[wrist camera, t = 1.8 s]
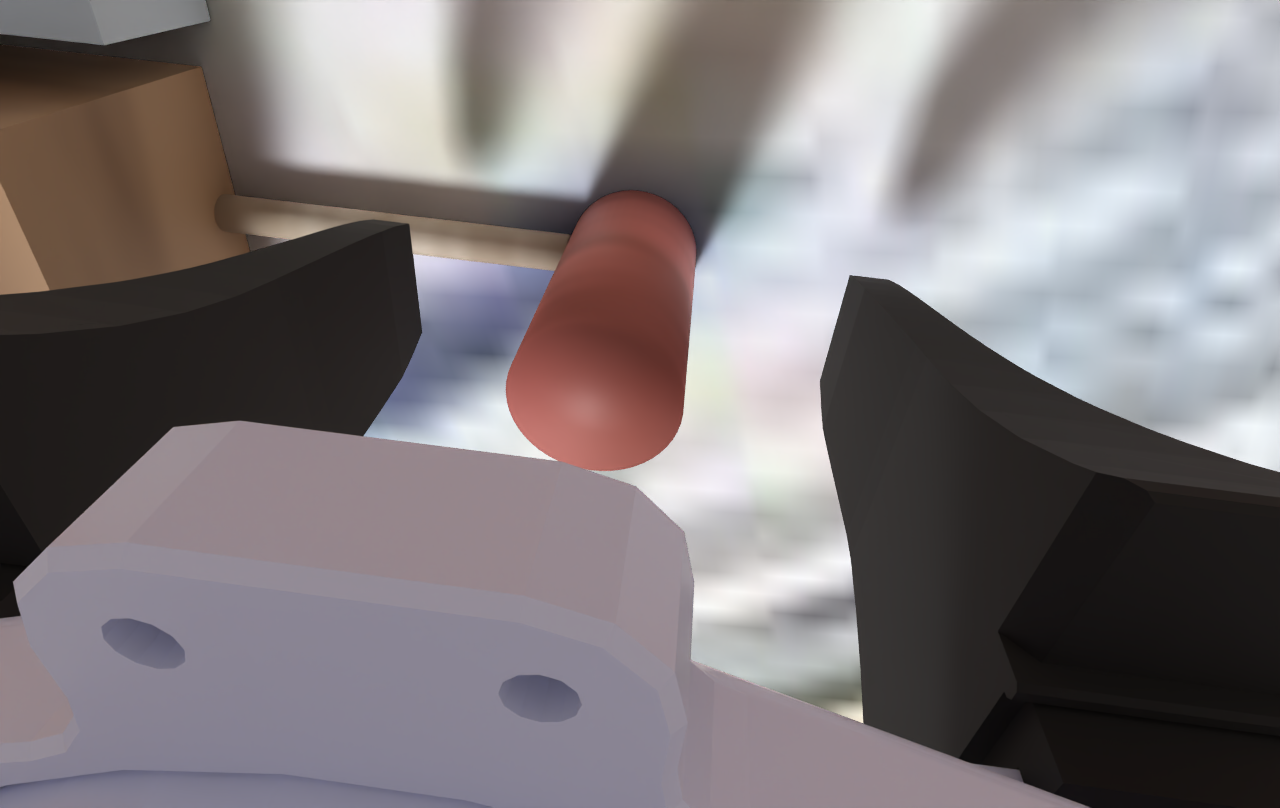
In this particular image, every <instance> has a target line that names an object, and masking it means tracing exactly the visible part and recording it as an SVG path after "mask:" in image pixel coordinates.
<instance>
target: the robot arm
mask: <svg viewBox="0 0 1280 808" xmlns="http://www.w3.org/2000/svg"><path fill="white" fill-rule="evenodd" d="M421 334H422V327H421V319H420V310H419V302H418V293H417V285H416V276H415V268H414V259H413V251H412V242H411V234H410V225H409V223H400V222H392V221H383V220H375V219H371V220H362V221H356V222H352V223H347V224H343V225H340V226H336V227H332V228H329V229H325V230H322V231H319V232H315V233H312V234H309V235H305V236H302V237H299V238H296V239H292V240H289V241H286V242H283V243H279V244H276V245H273V246H270V247H266V248H263V249H259V250H255V251H252V252H248V253H245V254H241V255H237V256H234V257H230V258H226V259H223V260H219V261H215V262H212V263H208V264H204V265H200V266H196V267H192V268H187V269H183V270H178V271H173V272H169V273H163V274H158V275H153V276H147V277H142V278H137V279H131V280H125V281H119V282H112V283H104V284H96V285H88V286H80V287H72V288H64V289H56V290H48V291H40V292H29V293H16V294H3V295H0V808H1280V472H1277V471H1273V470H1269V469H1266V468H1262V467H1258V466H1255V465H1251V464H1248V463H1245V462H1242V461H1239V460H1236V459H1233V458H1230V457H1227V456H1224V455H1221V454H1218V453H1215V452H1212V451H1209V450H1206V449H1203V448H1200V447H1197V446H1194V445H1191V444H1188V443H1185V442H1182V441H1179V440H1177V439H1174V438H1171V437H1169V436H1166V435H1163V434H1161V433H1158V432H1155V431H1153V430H1150V429H1147V428H1145V427H1143V426H1140V425H1138V424H1135V423H1133V422H1131V421H1128V420H1126V419H1124V418H1121V417H1119V416H1116V415H1114V414H1112V413H1109V412H1107V411H1105V410H1102V409H1100V408H1098V407H1096V406H1093V405H1091V404H1089V403H1087V402H1085V401H1083V400H1080V399H1078V398H1076V397H1074V396H1072V395H1070V394H1068V393H1067V392H1065V391H1063V390H1061V389H1059V388H1057V387H1055V386H1053V385H1051V384H1049V383H1047V382H1045V381H1043V380H1042V379H1040V378H1038V377H1036V376H1034V375H1032V374H1031V373H1029V372H1027V371H1025V370H1024V369H1022V368H1020V367H1018V366H1017V365H1015V364H1013V363H1012V362H1010V361H1009V360H1007V359H1006V358H1004V357H1002V356H1001V355H999V354H998V353H996V352H994V351H993V350H991V349H990V348H988V347H987V346H985V345H984V344H982V343H981V342H979V341H978V340H976V339H975V338H973V337H972V336H970V335H969V334H967V333H966V332H965V331H963V330H962V329H960V328H959V327H957V326H956V325H955V324H953V323H952V322H951V321H949V320H948V319H946V318H945V317H944V316H942V315H941V314H940V313H938V312H937V311H935V310H934V309H933V308H931V307H930V306H929V305H927V304H926V303H924V302H923V301H922V300H920V299H919V298H918V297H916V296H915V295H913V294H912V293H910V292H909V291H907V290H906V289H904V288H903V287H901V286H900V285H898V284H896V283H894V282H892V281H890V280H886V279H878V278H869V277H861V276H852V275H850V276H849V280H848V284H847V287H846V291H845V294H844V298H843V301H842V305H841V308H840V312H839V316H838V319H837V323H836V326H835V330H834V333H833V337H832V340H831V344H830V347H829V351H828V355H827V358H826V362H825V365H824V369H823V372H822V376H821V379H820V390H821V410H822V423H823V431H824V436H825V441H826V446H827V450H828V455H829V459H830V464H831V468H832V473H833V477H834V481H835V486H836V490H837V494H838V499H839V503H840V508H841V512H842V516H843V521H844V525H845V529H846V534H847V539H848V545H849V551H850V556H851V565H852V575H853V585H854V595H855V605H856V615H857V628H858V641H859V654H860V667H861V685H862V704H863V722H864V724H863V723H860V722H858V721H855V720H852V719H850V718H847V717H844V716H841V715H839V714H836V713H833V712H831V711H828V710H825V709H822V708H820V707H817V706H814V705H812V704H809V703H806V702H804V701H801V700H798V699H795V698H793V697H790V696H787V695H785V694H782V693H779V692H776V691H774V690H771V689H768V688H766V687H763V686H760V685H758V684H755V683H752V682H749V681H747V680H744V679H741V678H739V677H736V676H733V675H730V674H728V673H725V672H722V671H720V670H717V669H714V668H712V667H709V666H706V665H703V664H701V663H698V662H695V661H693V660H691V640H692V618H693V596H694V578H693V573H692V568H691V563H690V558H689V553H688V548H687V543H686V538H685V533H684V531H683V530H682V529H681V528H680V527H679V526H678V525H676V524H675V523H674V522H673V521H672V520H671V519H670V518H669V517H668V516H667V515H666V514H665V513H664V512H663V511H662V510H661V509H660V508H658V507H657V506H656V505H655V504H654V503H653V502H652V501H651V500H650V499H649V498H648V497H647V496H646V495H645V494H644V493H643V492H642V491H640V490H639V489H638V488H637V487H636V486H633V485H630V484H627V483H624V482H621V481H618V480H615V479H612V478H609V477H606V476H603V475H600V474H597V473H594V472H591V471H588V470H585V469H583V468H580V467H577V466H574V465H571V464H568V463H565V462H560V461H552V460H544V459H536V458H529V457H521V456H513V455H505V454H497V453H489V452H481V451H474V450H466V449H458V448H450V447H442V446H434V445H426V444H419V443H411V442H403V441H395V440H387V439H379V438H372V437H364V434H365V433H366V431H367V430H368V428H369V427H370V425H371V424H372V422H373V421H374V419H375V418H376V417H377V415H378V414H379V412H380V411H381V409H382V408H383V406H384V405H385V403H386V401H387V400H388V398H389V397H390V395H391V394H392V392H393V391H394V389H395V388H396V386H397V385H398V383H399V381H400V380H401V378H402V377H403V375H404V373H405V370H406V368H407V366H408V364H409V362H410V360H411V358H412V355H413V353H414V350H415V348H416V346H417V343H418V341H419V339H420V336H421Z"/></svg>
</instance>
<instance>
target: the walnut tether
mask: <svg viewBox="0 0 1280 808" xmlns="http://www.w3.org/2000/svg"><path fill="white" fill-rule="evenodd" d="M371 219H375V220H383V221H392V222H400V223H409V225H410V234H411V242H412V251H413V254H417V255H426V256H434V257H442V258H451V259H459V260H468V261H476V262H484V263H493V264H501V265H510V266H518V267H526V268H535V269H543V270H552V271H555V272H554V274H553V276H552V278H551V280H550V282H549V285H548V287H547V289H546V291H545V293H544V295H543V298H542V300H541V302H540V304H539V306H538V308H537V311H536V313H535V315H534V317H533V319H532V321H531V323H530V326H529V328H528V330H527V332H526V334H525V336H524V339H523V341H522V343H521V345H520V347H519V349H518V351H517V354H516V356H515V358H514V360H513V362H512V364H511V367H510V370H509V372H508V376H507V381H506V397H507V403H508V407H509V411H510V413H511V415H512V418H513V420H514V422H515V423H516V425H517V427H518V428H519V430H520V431H521V432H522V433H523V435H524V436H525V437H526V438H527V439H528V440H529V441H530V442H531V443H532V444H533V445H534V446H536V447H537V448H538V449H539V450H541V451H542V452H544V453H545V454H547V455H548V456H550V457H552V458H554V459H556V460H558V461H560V462H565V463H568V464H571V465H574V466H577V467H580V468H583V469H588V470H596V471H613V470H621V469H626V468H630V467H634V466H637V465H639V464H642V463H644V462H646V461H648V460H650V459H652V458H653V457H655V456H656V455H658V454H659V453H660V452H661V451H663V450H664V449H665V448H666V447H667V446H668V445H669V443H670V442H671V441H672V440H673V438H674V437H675V435H676V433H677V431H678V429H679V427H680V424H681V421H682V416H683V408H684V396H685V384H686V372H687V360H688V348H689V336H690V324H691V312H692V300H693V288H694V276H695V264H696V243H695V238H694V235H693V232H692V229H691V227H690V225H689V223H688V221H687V220H686V219H685V217H684V216H683V214H682V213H681V212H680V211H679V210H678V209H677V208H676V207H675V206H673V205H672V204H671V203H670V202H668V201H666V200H665V199H663V198H661V197H659V196H657V195H654V194H651V193H648V192H643V191H634V190H628V191H619V192H615V193H611V194H609V195H606V196H604V197H602V198H600V199H598V200H597V201H595V202H594V203H593V204H591V205H590V206H589V207H588V208H587V209H586V210H585V212H584V213H583V214H582V215H581V217H580V219H579V220H578V222H577V224H576V226H575V229H574V231H573V233H572V235H570V234H562V233H554V232H545V231H536V230H528V229H519V228H511V227H502V226H494V225H485V224H477V223H468V222H460V221H451V220H443V219H434V218H426V217H417V216H409V215H400V214H391V213H383V212H374V211H366V210H357V209H349V208H340V207H332V206H323V205H315V204H306V203H298V202H289V201H281V200H272V199H264V198H255V197H246V196H238V195H235V192H234V188H233V184H232V181H231V177H230V173H229V169H228V165H227V162H226V158H225V154H224V150H223V146H222V143H221V139H220V135H219V131H218V127H217V124H216V120H215V116H214V112H213V108H212V105H211V101H210V97H209V93H208V89H207V86H206V82H205V78H204V74H203V70H202V67H201V66H192V65H183V64H174V63H165V62H156V61H147V60H138V59H129V58H120V57H111V56H102V55H93V54H84V53H75V52H66V51H57V50H48V49H39V48H30V47H21V46H12V45H3V44H0V295H3V294H16V293H29V292H40V291H48V290H56V289H64V288H72V287H80V286H88V285H96V284H104V283H112V282H119V281H125V280H131V279H137V278H142V277H147V276H153V275H158V274H163V273H169V272H173V271H178V270H183V269H187V268H192V267H196V266H200V265H204V264H208V263H212V262H215V261H219V260H223V259H226V258H230V257H234V256H237V255H241V254H245V253H248V252H250V249H249V245H248V241H247V238H246V234H249V235H258V236H266V237H274V238H283V239H291V240H292V239H296V238H299V237H302V236H305V235H309V234H312V233H315V232H319V231H322V230H325V229H329V228H332V227H336V226H340V225H343V224H347V223H352V222H356V221H362V220H371Z"/></svg>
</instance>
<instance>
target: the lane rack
mask: <svg viewBox="0 0 1280 808" xmlns="http://www.w3.org/2000/svg"><path fill="white" fill-rule="evenodd" d="M208 21H211V20H210V16H209V12H208V7H207V3H206V0H0V34H6V35H15V36H24V37H33V38H42V39H52V40H61V41H70V42H79V43H88V44H97V45H108V44H112V43H116V42H121V41H125V40H129V39H134V38H138V37H142V36H147V35H151V34H156V33H160V32H164V31H169V30H173V29H177V28H182V27H186V26H190V25H195V24H199V23H203V22H208Z"/></svg>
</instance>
